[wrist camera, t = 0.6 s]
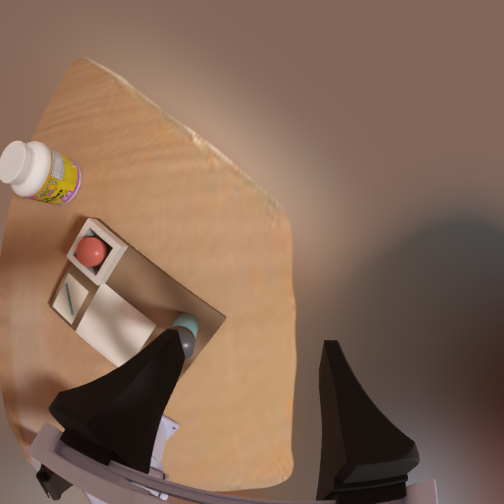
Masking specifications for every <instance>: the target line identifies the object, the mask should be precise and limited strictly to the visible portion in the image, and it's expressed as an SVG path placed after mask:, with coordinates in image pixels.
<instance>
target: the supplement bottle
mask: <svg viewBox="0 0 504 504" xmlns="http://www.w3.org/2000/svg"><path fill="white" fill-rule="evenodd" d="M0 180H1V181H2V182H3V183H6V184H9V185H10V186H11V188H12V190H13V191H14V192H15V193H16V194H17V195H19V196H22V197H26V198H30V199H34V200H38V201H42V202H46V203H50V204H55V205H63V204H66V203H68V202H69V201H71V200H72V199H73V198H74V196H75V195H76V194H77V192H78V190H79V187H80V184H81V172H80V169H79V167H78V165H77V164H76V163H75V162H74V161H72V160H71V159H69V158H67V157H66V156H64V155H62V154H60V153H59V152H57V151H55V150H53V149H52V148H50V147H48V146H47V145H45V144H43V143H41V142H38V141H32V142H29V143H27V144H25V143H23V142H21V141H14V142H13V143H11V144H9V145H8V146H7V147H6V149H5V150H4V152H3V154H2V156H1V158H0Z"/></svg>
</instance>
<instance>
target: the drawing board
mask: <svg viewBox="0 0 504 504" xmlns="http://www.w3.org/2000/svg"><path fill="white" fill-rule="evenodd" d="M97 220H98V221H99V222H100V223H101V224H103V225H104V226H105V227H106V228H107V229H108V230H110V231H111V232H112V233H113V234H114V235H115V236H117V237H118V238H119V239H120V240H121V241H123V242H124V243H125V244H126V245H128V248H127V249H126V251H125V252H124V254H123V255H122V257H121V258H120V260H119V262H118V263H117V265H116V266H115V268H114V270H113V271H112V273H111V274H110V276H109V278H108V279H107V281H106V283H104V284H101V285H98V286H97V285H96V284H95V283H94V282H93V281H92V280H91V279H89V278H88V277H87V276H86V275H85V274H84V273H83V272H82V271H81V270H80V269H79V268H77V267H76V266H75V265H74V264H73V263H72V262H71V263H70V265H69V267H68V269H67V271H66V273H65V275H64V277H63V279H62V281H61V283H60V285H59V287H58V289H57V291H56V293H55V295H54V298H53V300H52V302H51V304H50V307H51V308H52V309H53V310H54V311H55V312H56V313H57V314H58V315H59V316H60V317H61V318H62V319H63V320H64V321H65V322H66V323H67V324H68V325H69V326H70V327H71V328H72V329H73V330H74V331H75V332H76V333H77V334H78V335H80V336H81V337H82V338H83V339H84V340H85V341H86V342H88V343H89V344H90V345H91V346H92V347H93V348H95V349H96V350H97V351H98V352H100V353H101V354H102V355H103V356H105V357H106V358H107V359H108V360H110V361H111V362H112V363H113V364H115V365H116V366H117V367H120V366H121V365H123V364H124V363H125V362H127V361H128V360H129V359H131V358H132V357H133V356H135V355H136V354H137V353H139V352H140V351H141V350H142V349H144V348H145V347H146V346H147V345H148V344H150V343H151V342H152V341H153V340H154V339H155V338H157V337H158V336H159V335H160V334H161V333H162V332H164V331H165V330H166V329H170V328H171V327H172V325H173V323H174V321H175V320H176V318H177V317H178V315H180V314H181V313H185V312H187V313H191V314H193V315H195V316H196V318H197V319H198V322H199V328H198V332H197V336H196V339H195V340H196V343H195V348H194V352H193V354H192V356H191V357H190V358H189V359H188V360H186V361H184V364H183V368H182V371H181V374H180V376H179V379H180V378H181V377H182V375H183V374H184V373H185V372H186V370H187V369H188V368H189V366H190V365H191V364H192V363H193V361H194V360H195V359H196V357H197V356H198V355H199V354H200V352H201V351H202V350H203V348H204V347H205V346H206V344H207V343H208V342H209V340H210V339H211V338H212V337H213V335H214V334H215V333H216V331H217V330H218V329H219V327H220V326H221V325H222V323H223V322H224V321H225V319H226V316H225V315H223V314H222V313H220V312H219V311H217V310H216V309H215V308H213V307H212V306H210V305H209V304H208V303H206V302H205V301H203V300H202V299H201V298H199V297H198V296H196V295H195V294H194V293H192V292H191V291H190V290H188V289H187V288H185V287H184V286H183V285H181V284H180V283H179V282H177V281H176V280H175V279H173V278H172V277H171V276H169V275H168V274H167V273H166V272H164V271H163V270H162V269H160V268H159V267H158V266H156V265H155V264H154V263H153V262H151V261H150V260H149V259H148V258H146V257H145V256H144V255H142V254H141V253H140V252H139V251H137V250H136V249H135V248H134V247H133V246H131V245H130V244H129V243H128V242H126V241H125V240H124V239H123V238H122V237H120V236H119V235H118V234H117V233H116V232H114V231H113V230H112V229H111V228H110V227H109V226H107V225H106V224H105V223H104V222H103V221H102V220H100V219H97ZM93 237H94V238H100V239H101V240H103V239H102V238H101V237H100V236H99V235H98V234H96V233H94V235H93ZM103 241H104V240H103ZM104 243H105V244H106V247H107V257H108V255H109V254H110V252H111V250H112V249H113V247H111V246H110V245H109V244H108V243H107V242H106V241H104ZM107 257H106V258H107ZM105 260H106V259H105ZM104 262H105V261H104ZM104 262H103V263H104ZM103 263H102V264H100V265H96V266H95V267H96V268H97V269H99V270H100V268H101V267H102V265H103ZM179 379H178V381H179ZM178 381H177V382H178Z"/></svg>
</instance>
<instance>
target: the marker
mask: <svg viewBox="0 0 504 504" xmlns="http://www.w3.org/2000/svg"><path fill="white" fill-rule="evenodd" d="M198 328H199V322H198V319H197V318H196V316H195V315H193V314H191V313H187V312H185V313H181V314H180V315H178V317H177V318H176V320H175V321H174V323H173V325H172V327H171V328H170V329H174V330H178V333H179V336H180V340H181V344H182V347H183V350H184V354H185V361H186V360H188V359H189V358H190V357H191V356H192V354H193V352H194V348H195V343H196V340H195V339H196V336H197V332H198Z"/></svg>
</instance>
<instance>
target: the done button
mask: <svg viewBox="0 0 504 504" xmlns="http://www.w3.org/2000/svg"><path fill="white" fill-rule="evenodd" d="M76 255H77V258H78V260H79V262H80V263H81V264H82V265H83V266H86V267H91V266H96V265H100V264H102V263H103V262H104V261H105V259H106V257H107V247H106V244H105V243H104V241H103V240H101V239H100V238H94V237H86V238H83V239H82V240H81V241H80V242H79V243H78V245H77V248H76Z"/></svg>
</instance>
